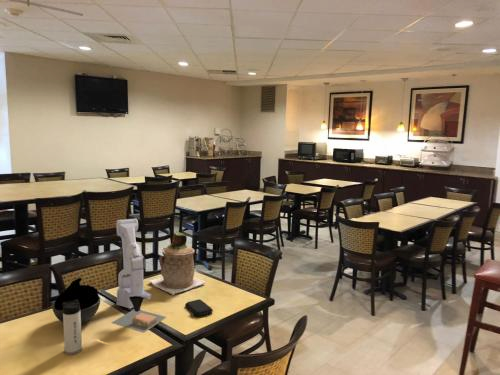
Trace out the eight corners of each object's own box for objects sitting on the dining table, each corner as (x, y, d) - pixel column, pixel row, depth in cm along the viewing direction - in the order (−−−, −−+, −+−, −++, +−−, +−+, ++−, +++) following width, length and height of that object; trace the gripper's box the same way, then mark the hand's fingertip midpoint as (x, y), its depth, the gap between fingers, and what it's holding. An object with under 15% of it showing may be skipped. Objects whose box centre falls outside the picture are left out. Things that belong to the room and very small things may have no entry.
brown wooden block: (132, 317, 173) (147, 322, 169) (141, 312, 178) (156, 316, 174) (132, 323, 173) (147, 327, 169) (141, 317, 178) (156, 322, 175)
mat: (111, 323, 173) (111, 322, 173) (135, 309, 188) (135, 308, 187) (144, 333, 165) (144, 332, 165) (166, 318, 180) (166, 317, 180)
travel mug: (67, 346, 154) (65, 299, 151) (84, 345, 155) (82, 299, 152) (61, 355, 148) (58, 306, 145) (78, 354, 149) (76, 306, 146)
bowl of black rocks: (82, 336, 162) (80, 294, 159) (42, 329, 166) (40, 289, 164) (109, 315, 181) (108, 277, 178) (73, 309, 186) (72, 273, 183)
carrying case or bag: (181, 307, 191) (194, 319, 179) (181, 302, 191) (194, 313, 179) (200, 303, 197) (214, 314, 185) (200, 297, 197) (214, 308, 185)
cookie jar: (207, 284, 221) (208, 231, 216) (172, 297, 203) (172, 239, 199) (182, 273, 238) (182, 223, 233) (147, 283, 220) (146, 230, 216)
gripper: (118, 282, 172) (119, 310, 174) (143, 288, 166) (143, 317, 168) (129, 277, 179) (129, 304, 181) (153, 283, 173) (154, 311, 175)
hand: (137, 310), depth 175 cm, fingers closed
